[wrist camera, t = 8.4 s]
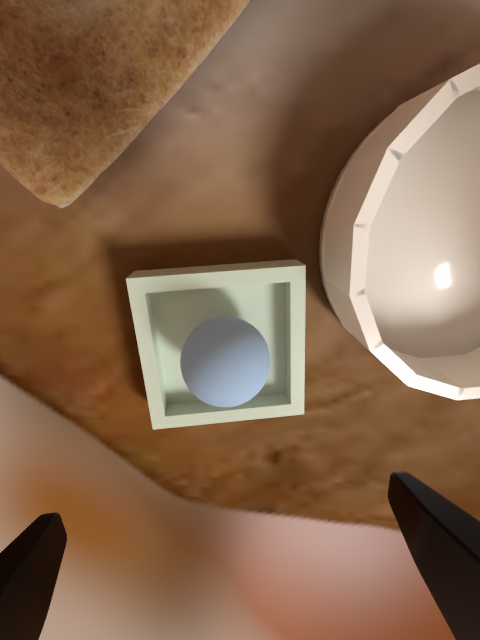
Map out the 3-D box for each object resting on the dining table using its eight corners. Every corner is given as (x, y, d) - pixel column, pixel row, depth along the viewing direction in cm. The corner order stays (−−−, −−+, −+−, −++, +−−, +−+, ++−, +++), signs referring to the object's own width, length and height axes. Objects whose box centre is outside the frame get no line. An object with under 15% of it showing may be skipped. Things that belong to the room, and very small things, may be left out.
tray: (296, 259, 18) (305, 265, 16) (295, 395, 21) (304, 414, 19) (134, 270, 18) (125, 278, 16) (158, 409, 21) (152, 429, 19)
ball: (264, 374, 20) (279, 421, 15) (188, 381, 19) (182, 432, 15) (261, 302, 18) (277, 332, 14) (179, 308, 18) (169, 341, 14)
